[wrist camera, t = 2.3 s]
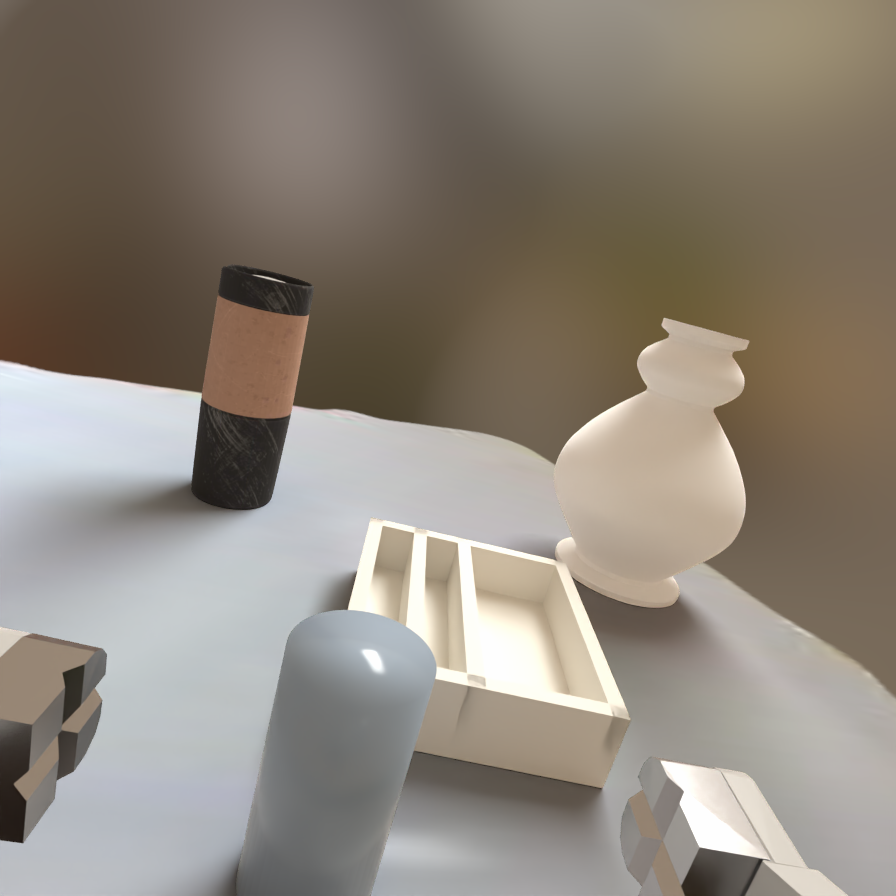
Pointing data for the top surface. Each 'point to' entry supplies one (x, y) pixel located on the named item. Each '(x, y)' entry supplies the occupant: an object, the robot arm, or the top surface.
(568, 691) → the compartment tray
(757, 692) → the top surface
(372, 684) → the grey cylinder
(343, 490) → the top surface
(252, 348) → the travel mug
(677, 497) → the decorative vase
